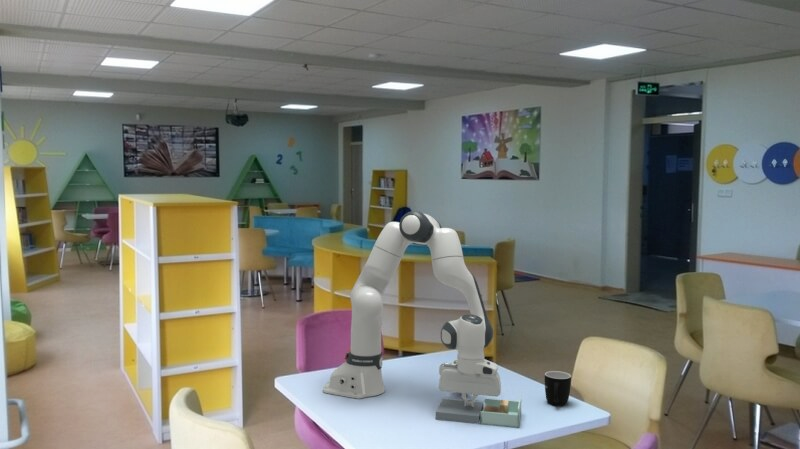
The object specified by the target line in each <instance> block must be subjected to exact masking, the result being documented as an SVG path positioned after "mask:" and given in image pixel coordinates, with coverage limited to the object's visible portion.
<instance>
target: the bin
mask: <svg viewBox="0 0 800 449" xmlns="http://www.w3.org/2000/svg"><path fill="white" fill-rule="evenodd" d="M501 400H502V399H497V398H485V399H484V408H483V411H481V419H480V422H479V424H480V425H487V426H497V427H508V428H514V429H515V428H516V429H518V428H519V427H520V422H521V416H522V395H519V399H518V401H517V400H509V411H508V414H505V413H495V412H485V411H484V409H485V406H495V407H500V402H501Z"/></svg>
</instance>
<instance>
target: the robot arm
mask: <svg viewBox="0 0 800 449" xmlns="http://www.w3.org/2000/svg"><path fill="white" fill-rule="evenodd" d="M411 244H413V245H416V246H422V247H423V246H424V247H426V246H427V247H428V248H429V252H430V257H431V265H432V272H433V274H434V277H435V279H437V281H439V282H440V283H442V284H443V285H445V286H447V287H451V288H452V289H453V288H454V289H456V290H458V291H459V292H461V294H463V296H464V297H465V299H466V303H467V306H468V310H469V313H467V314H463V315H461V316H460V317H459V318H458V319H454V320H450V321H449V320H448V321H446V322H444V324H443V326H442V327H441V330H440V340H441V342H442V344H443V345H444V347H446V348H447V349H449V350H456V351H457V356H456V360H457V361H456V362H457V363H456V364H453V363H454V362H453V363H451V362H450V363H448V362H444V363H441V364H440V365H439V367H438V374H439V375H440V376H439V377H440V378H439V384H438V389H439V390H440V391H441V392H449V393H455V394H456V393H458V394H461V393H462V396H461V398H462V401H465V407H474V402H476V400H477V398H478V396H485V397H486V396H488V397H500V395H501V393H502V385H501V384H502V382H501V376H500V374H499V372H498V370H499V367H498V364H497V363H495V362H494V361H493V362H492V361H490V360H487V359H485V353H484V349H485V348H487V347H488V346H489V345H490V344H491V342H492V340H493V339H494V328H493V326H492V323H491V322H490V320H489V317H488V314H487V311H486V308H485V305H484V301H483V298H482V294H481V291H480V288H479V284H478V282H477V279H476V276H475V275H474V274H473V273H471V272H470V271H469V268H468V267H467V266H466V262H465V259H464V253H463V249H462V244H461V240H460V237H459V235H458V232H457V231H456V230H455V229H453V228H451V227H442V226H441V223H440V222H439V220H437V219H436V218H434V217H433V216H431V215H430V214H427V213H424V212H421V211H418V210H415V211H414V210H413V211H412V210H411V211H408V212H406V213H404V215H403V216H402V217H401V218H400V220H399V221H389V222H388V223H386V224H385V225H384V227H383V229H382V230H381V232H380V233H379V235H378V237H377V239H376V241H375V243H374V244H373V247H372V248H371V252H370V254H369V256H368V258H367V260H366V263H365V265H364V267H363V268H362V270H361V272H360V274H359V276H358V278H357V279H356V280H355V283H354V285H353V288H352V289H351V292H350V295H349V296H350V297H349V298H350V304H351V322H350V324H351V327H350V349H349V350H348V351H347V352H346V353H345V355H344V358H343V359H344V360H345V361H344V362H343V363H341V365H339V366H337V367H336V368H335V369H334V370H333V371H332V372H331V374H330V377H329V381H328V382H327V383H326V384H325V385H324V386H323V388H322V391H323V393H324V394H329V395H336V396H342V397H347V398H352V399H358V400H359V399H364V398H368V397H374V396H379V395H382V394H384V392H385V391H386V389H385V386H384V380H383V372H382V368H383V352H382V327H383V326H382V325H383V316H384V315H383V314H384V313H383V311H384V299H383V295H384V293H385V291H386V289H387V288H388V285H389V284H390V282H391V281H392V280H393V278H394V277H395V274H396V272H397V271H398V270H397V269H398V267H399V265H400V263H401V260H402V259H403V256H404V254H405V251H406V249H407V248H408V246H410V245H411ZM468 394H469V395H472V398H473V399H470V400H469V399H468V398H467V395H468Z"/></svg>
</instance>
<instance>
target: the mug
mask: <svg viewBox="0 0 800 449" xmlns="http://www.w3.org/2000/svg"><path fill="white" fill-rule="evenodd" d="M571 386H572V375H571V374H570V373H568V372H565V371H559V370H558V371H557V370H550V371H546V372H545V373H544V393H545V398H546V403H547V404H549V405H552V406H554V407H564V406H566V405H567V404H568V402H569V399H570V394H571V393H570V391H571Z"/></svg>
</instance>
